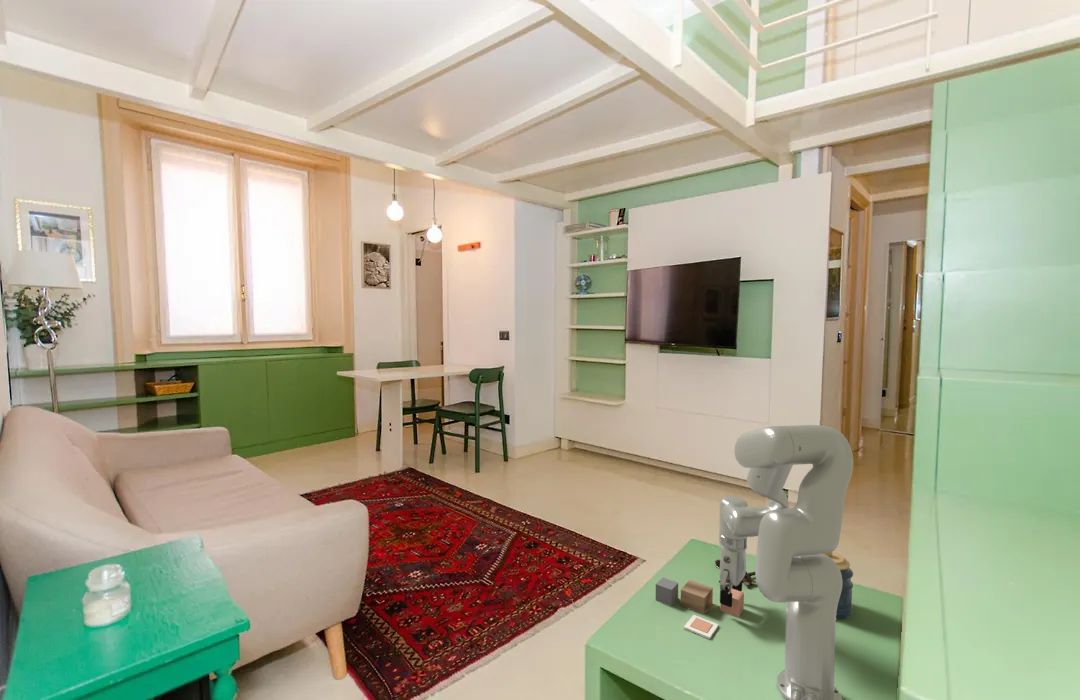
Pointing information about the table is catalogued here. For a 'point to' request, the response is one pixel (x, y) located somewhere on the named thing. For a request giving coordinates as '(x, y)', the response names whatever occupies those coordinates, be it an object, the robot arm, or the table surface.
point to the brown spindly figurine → (746, 578)
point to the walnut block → (696, 596)
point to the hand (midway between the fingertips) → (731, 597)
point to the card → (701, 626)
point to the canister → (843, 586)
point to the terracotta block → (735, 603)
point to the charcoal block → (667, 591)
